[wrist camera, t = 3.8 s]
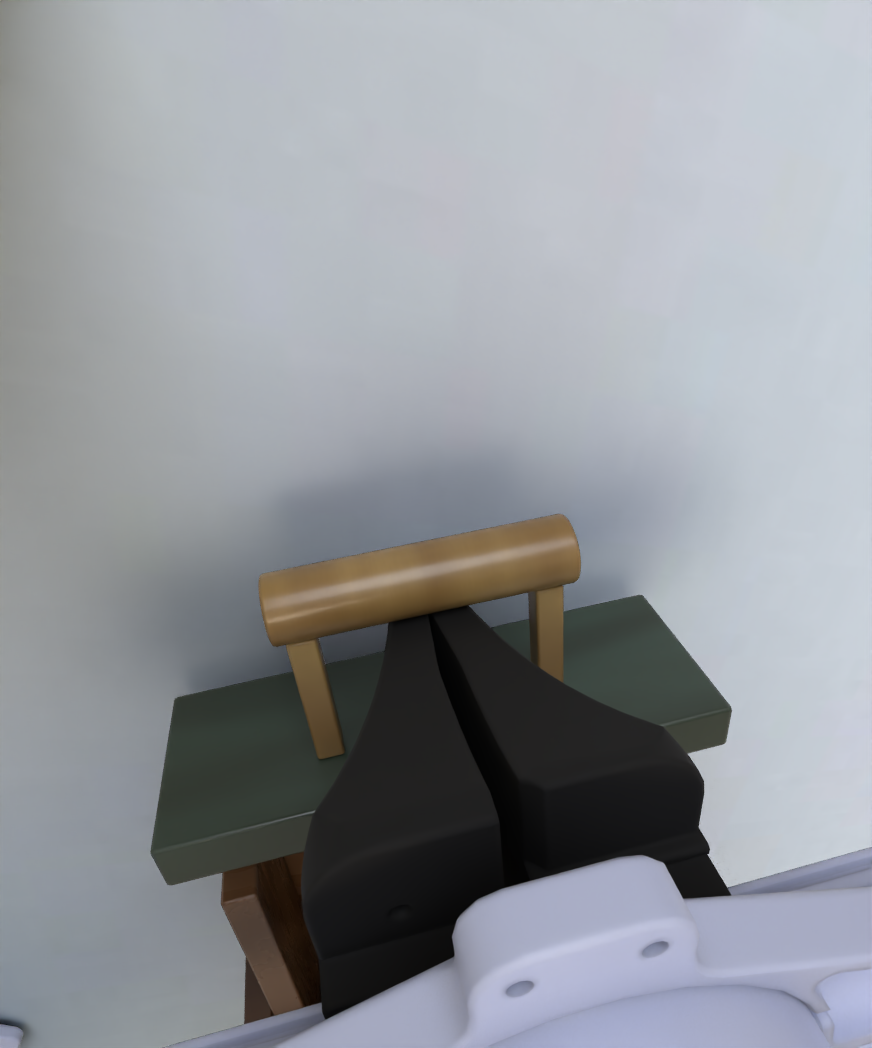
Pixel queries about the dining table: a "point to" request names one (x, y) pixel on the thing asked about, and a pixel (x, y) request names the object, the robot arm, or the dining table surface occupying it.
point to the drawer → (344, 700)
